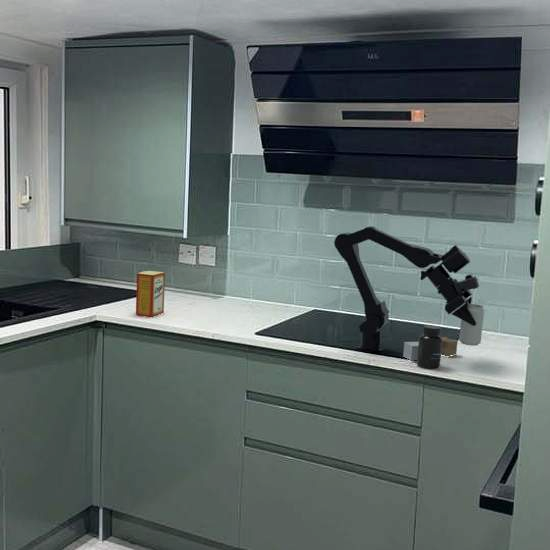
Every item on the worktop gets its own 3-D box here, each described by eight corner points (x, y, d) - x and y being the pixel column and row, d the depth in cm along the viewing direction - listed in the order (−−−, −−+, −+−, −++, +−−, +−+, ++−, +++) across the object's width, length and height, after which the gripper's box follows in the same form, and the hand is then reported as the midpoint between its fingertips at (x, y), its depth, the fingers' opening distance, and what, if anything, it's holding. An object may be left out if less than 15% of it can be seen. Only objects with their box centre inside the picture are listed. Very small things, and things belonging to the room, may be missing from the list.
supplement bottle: (437, 370, 210) (441, 330, 208) (414, 367, 213) (417, 327, 211) (441, 365, 217) (445, 326, 215) (418, 362, 219) (422, 323, 217)
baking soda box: (148, 311, 273) (149, 269, 271) (163, 313, 271) (165, 271, 269) (135, 315, 265) (136, 272, 262) (151, 317, 263) (153, 274, 260)
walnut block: (433, 354, 230) (435, 339, 230) (443, 352, 234) (444, 337, 233) (447, 357, 227) (448, 342, 226) (456, 355, 230) (457, 340, 229)
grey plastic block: (403, 357, 224) (404, 342, 223) (417, 357, 225) (418, 341, 224) (410, 362, 219) (412, 346, 218) (425, 361, 220) (426, 345, 220)
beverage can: (479, 347, 215) (484, 308, 213) (457, 344, 217) (462, 305, 216) (480, 343, 221) (485, 304, 219) (459, 340, 223) (463, 302, 222)
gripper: (460, 269, 209) (495, 312, 206) (468, 263, 226) (500, 302, 224) (430, 292, 213) (464, 334, 210) (440, 284, 230) (471, 323, 228)
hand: (476, 323), depth 218 cm, fingers closed on beverage can, 6 cm apart
